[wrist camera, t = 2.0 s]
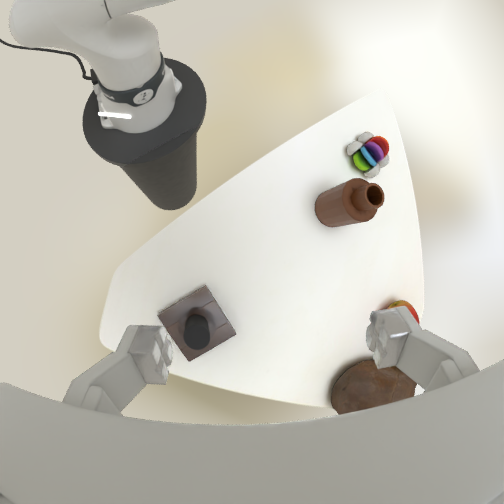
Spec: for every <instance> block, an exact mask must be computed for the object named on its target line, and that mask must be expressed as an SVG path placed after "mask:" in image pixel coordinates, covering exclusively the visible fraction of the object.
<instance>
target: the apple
mask: <svg viewBox="0 0 504 504" xmlns="http://www.w3.org/2000/svg"><path fill="white" fill-rule="evenodd" d="M400 306H406V307H407V308H408V309H409V311H410V312H411V314H412V315H413V317H414V318H415V319H416V321H417V322H418V324H419V318H418V315H417V313H416V311H415V309H414V308H413V307H412V305H411V304H409V303H408V302H406V301H403V300H400V301H396V302H394V303H392V304H391V305H390V306H389V307H388V308H387V309H390V308H395V307H400Z"/></svg>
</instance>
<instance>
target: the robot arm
mask: <svg viewBox="0 0 504 504" xmlns="http://www.w3.org/2000/svg"><path fill="white" fill-rule="evenodd" d="M172 1H175V0H15V1H14V3H13V5H12V8H11V11H10V15H9V28H10V32H11V34H12V36H13V37H14V39H15V40H16V41H17V42H18V43H19V44H21V45H23V46H25V47H21V46H15V45H11V44H8V43H6V42H4V41H2V40H1V39H0V42H1V43H3V44H5V45H7V46H10V47H14V48H20V49H28V50H40V51H47V52H55V53H60V54H66V55H71V56H73V57H74V58H75V59H77V61H78V62H79V64H80V66H81V69H82V72H83V78H84V79H86V80H92V83H93V85H94V86H93V88H94V92H95V94H96V95H97V100H98V105H99V112H98V114H99V115H100V118H101V124H102V127H103V128H105V129H119V130H121V131H123V132H127V133H143V132H147V131H150V130H152V129H154V128H156V127H157V126H159V125H160V124H162V123H163V122H164V121H165V120H166V119H167V118H168V117H169V115H170V114H171V112H172V110H173V108H174V104H175V99H176V96H177V95H178V94H179V93H180V91H181V89H182V84H181V82H180V81H179V80H178V79H177V78H176V77H174V76H173V71H172V69H169V68H168V67H167V66H166V65H165V61H164V58H163V55H162V53H161V52H160V48H159V41H158V32H157V30H156V28H155V26H154V25H153V24H152V23H151V22H150V21H148V20H147V19H145V18H144V17H141V16H138V15H133V14H127V13H130V12H134V11H138V10H142V9H145V8H149V7H154V6H158V5H163V4H166V3H169V2H172ZM38 47H56V48H61V49H66V50H69V51H71V52H74V53H76V54H78V55H80V56H82V57H83V58H85V59H86V60H87V61H88V62H89V64H90V65H91V67H92V68H93V69H91V70H90V71H91V77H88V76H86V75H85V74H86V71H85V69H84V66H83V64H82V62H81V60H80V58H79V57H78V56H76V55H75V54H73V53H70V52H63V51H58V50H51V49H43V48H38ZM105 118H107V119H105ZM370 321H371V324H370V325H369V326H368V327H367V332H366V341H367V345H368V348H369V350H371V351H373V352H374V355H373V359H374V361H375V364H376V366H377V368H378V369H381V368H386V367H391V366H396V367H397V368H399V369H400V370H401V371H402V372H404V373H405V374H406V375H407V376H408V377H410V378H411V379H412V380H413V381H415V382H416V383H417V384H418V385H420V386H421V387H422V388H424V389H425V391H424V393H423V394H420V395H417V396H414V397H411V398H407V399H404V400H401V401H397V402H393V403H390V404H386V405H382V406H378V407H374V408H370V409H365V410H361V411H356V412H351V413H346V414H341V415H335V416H330V417H323V418H316V419H309V420H301V421H292V422H280V423H267V424H244V425H209V424H186V423H173V422H162V421H152V420H145V419H137V418H131V417H124V416H123V415H122V414H121V413H120V412H121V411H122V410H123V409H124V408H125V407H126V406H127V405H128V404H129V403H130V402H131V401H132V400H133V398H134V397H135V396H136V395H137V394H138V393H139V392H140V391H141V390H142V389H143V388H144V387H145V386H146V384H163V385H166V381H167V377H168V374H169V371H168V369H167V367H168V366H169V365H170V364H171V362H172V353H173V351H172V346H171V343H170V341H169V340H168V339H166V336H167V331H166V329H165V327H164V326H148V325H129V326H128V327H127V329H126V331H125V333H124V335H123V337H122V339H121V341H120V343H119V345H118V347H117V350H116V352H112V353H110V354H109V355H107V356H106V357H105V358H103V359H102V360H101V361H99V362H98V363H96V364H95V365H94V366H92V367H91V368H89V369H88V370H86V371H85V372H84V373H82V374H81V375H80V376H78V377H77V378H75V379H74V380H73V381H72V382H71V384H70V387H69V389H68V391H67V393H66V395H65V397H64V399H63V401H62V402H59V401H55V400H52V399H49V398H45V397H42V396H40V395H37V394H34V393H31V392H28V391H25V390H23V389H20V388H18V387H15V386H12V385H10V384H8V383H0V504H504V359H503V360H501V361H499V362H498V363H496V364H494V365H492V366H489V367H488V368H485V369H483V370H481V371H480V370H479V369H478V367H477V366H476V364H475V362H474V361H473V360H472V358H471V356H470V355H469V353H468V352H467V351H465V350H463V349H461V348H459V347H457V346H456V345H454V344H452V343H450V342H448V341H446V340H444V339H442V338H441V337H439V336H437V335H435V334H433V333H431V332H429V331H427V330H422V328H421V327H420V325H419V324H418V322H417V321H416V319H415V318H414V317H413V315H412V314H411V312H410V311H409V309H408V308H407V307H406V306H400V307H395V308H390V309H384V310H378V311H372V313H371V315H370Z"/></svg>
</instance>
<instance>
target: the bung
mask: <svg viewBox="0 0 504 504" xmlns="http://www.w3.org/2000/svg"><path fill="white" fill-rule="evenodd" d="M183 338H184V342H185V344H186V345H187V346H188V347H189V348H191V349H194V350H201V349H203V348H205V347H206V346H207V345H208V344H209V342H210V332H209V325H208V321H207V320H206V318H205V317H203V316H201V315H192V316H190V317H189V318H188V319H187V321H186V324H185V330H184V337H183Z"/></svg>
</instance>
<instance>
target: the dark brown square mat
mask: <svg viewBox="0 0 504 504" xmlns="http://www.w3.org/2000/svg"><path fill="white" fill-rule="evenodd" d="M192 315H201V316H203V317H205V318H206V320H207V321H208V325H209V332H210V342H209V344H208V345H207V346H206V347H205V348H203V349H201V350H194V349H191V348H189V347H188V346H187V345H186V344H185V342H184V338H183V337H184V330H185V324H186V321H187V319H188V318H189V317H190V316H192ZM158 317H159V319H160V320H161V322H162V323H163V325H164V326H165V328H166V329H167V331H168V332H169V334H170V335H171V337H172V338H173V340H174V341H175V343H176V344H177V346H178V347H179V348H180V350H181V351H182V353H183V354H184V356H185V357H186V358H187V360H188V361H191V360H193V359H195V358H197V357H198V356H200V355H202V354H204V353H205V352H207V351H209V350H211V349H212V348H214V347H216V346H217V345H219V344H221V343H222V342H224V341H226V340H228V339H229V338H231V337H233V336H234V335H236V332H235V330H234V329H233V327H232V326H231V324H230V323H229V321H228V320H227V318H226V316H225V315H224V313H223V312H222V310H221V309H220V307H219V305H218V304H217V302H216V301H215V299H214V297H213V296H212V294H211V292H210V291H209V289H208V288H207V286H206V285H205V286H204V287H202V288H200V289H199V290H197V291H195V292H194V293H192V294H190V295H189V296H187V297H185V298H184V299H182V300H180V301H179V302H177V303H175V304H174V305H172V306H170V307H169V308H167V309H165V310H164V311H162V312H160V313H159V314H158Z"/></svg>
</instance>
